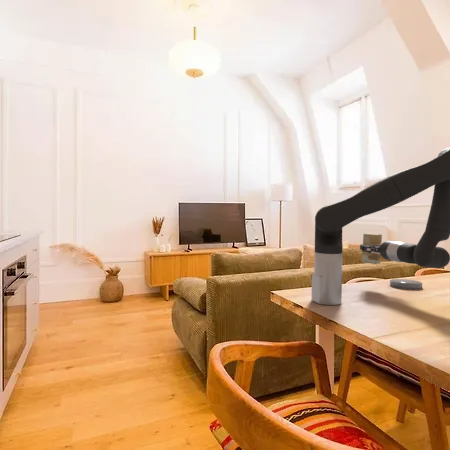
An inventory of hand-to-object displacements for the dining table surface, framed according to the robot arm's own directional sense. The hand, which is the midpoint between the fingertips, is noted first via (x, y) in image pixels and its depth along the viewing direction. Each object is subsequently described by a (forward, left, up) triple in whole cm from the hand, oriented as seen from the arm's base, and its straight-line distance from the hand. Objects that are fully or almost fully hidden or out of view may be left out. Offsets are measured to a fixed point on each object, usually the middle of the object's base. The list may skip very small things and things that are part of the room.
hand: (368, 246), depth 144 cm
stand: (+15, -4, -17) cm, 23 cm away
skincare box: (0, -2, -7) cm, 7 cm away
